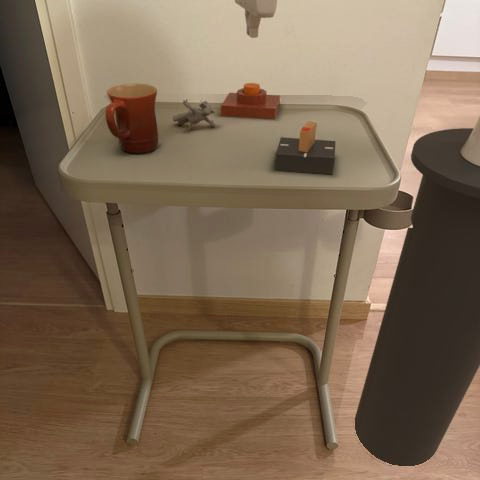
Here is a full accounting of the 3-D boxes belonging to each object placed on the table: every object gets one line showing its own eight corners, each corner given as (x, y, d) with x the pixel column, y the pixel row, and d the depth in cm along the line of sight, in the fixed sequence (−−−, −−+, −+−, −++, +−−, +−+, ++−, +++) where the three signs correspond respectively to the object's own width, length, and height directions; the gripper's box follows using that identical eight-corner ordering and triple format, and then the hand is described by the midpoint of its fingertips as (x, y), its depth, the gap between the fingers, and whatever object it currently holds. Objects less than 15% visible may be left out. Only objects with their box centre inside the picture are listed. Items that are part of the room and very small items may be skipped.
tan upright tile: (305, 141, 84) (308, 119, 81) (314, 142, 83) (317, 121, 81) (298, 151, 80) (300, 129, 78) (307, 152, 80) (309, 130, 77)
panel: (333, 155, 86) (335, 138, 84) (332, 176, 80) (335, 158, 78) (279, 152, 88) (281, 135, 86) (274, 171, 81) (275, 154, 79)
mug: (134, 136, 93) (126, 81, 86) (171, 144, 90) (166, 87, 83) (96, 158, 85) (84, 98, 78) (136, 166, 82) (127, 105, 75)
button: (260, 91, 105) (260, 83, 104) (258, 96, 102) (258, 87, 101) (244, 90, 105) (245, 82, 104) (242, 95, 103) (242, 86, 101)
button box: (279, 105, 109) (280, 86, 106) (274, 119, 102) (275, 99, 99) (229, 102, 111) (229, 84, 108) (221, 115, 103) (220, 96, 100)
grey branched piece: (194, 118, 102) (226, 110, 96) (190, 145, 101) (222, 137, 96) (161, 94, 94) (194, 84, 88) (157, 123, 93) (190, 113, 88)
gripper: (226, -52, 94) (227, 27, 104) (251, -45, 79) (249, 47, 89) (256, -52, 95) (254, 26, 105) (286, -45, 81) (280, 46, 90)
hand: (252, 36), depth 97 cm, fingers closed
